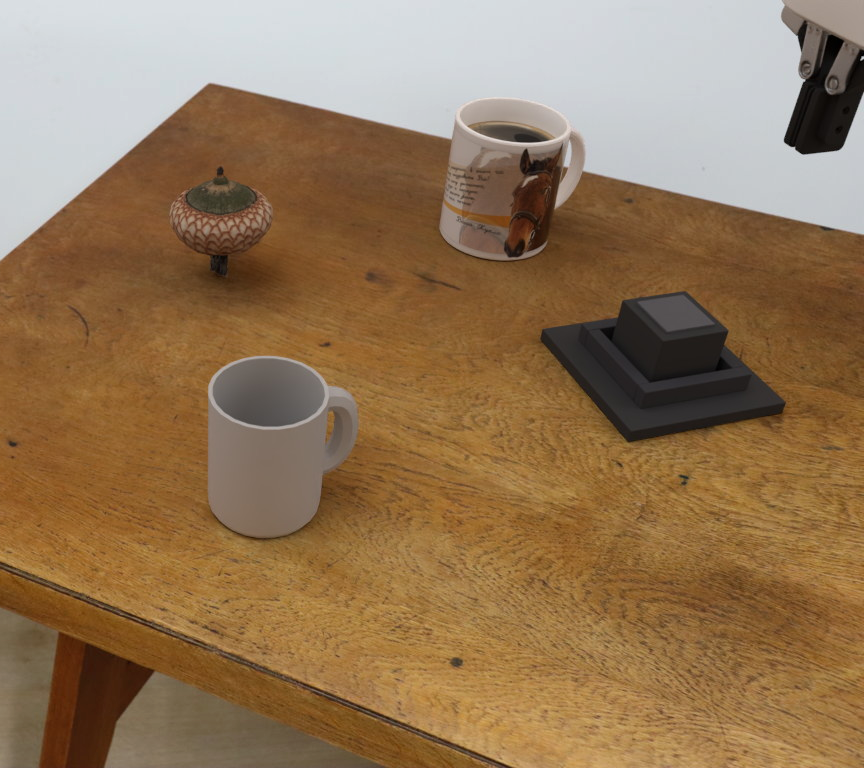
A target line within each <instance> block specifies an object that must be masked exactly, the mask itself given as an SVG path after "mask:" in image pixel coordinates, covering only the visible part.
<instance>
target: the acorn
mask: <svg viewBox="0 0 864 768" xmlns="http://www.w3.org/2000/svg"><path fill="white" fill-rule="evenodd" d="M224 172H225V170H224V168H223V166H222V165H219V167H218V168H217V169H216V176H215V177H214V178H213V179H212V180H207V181H205V182H202V183H200V184H199V185H197V186H194V187H190V188H187V189H186V190H184V191H182V193H180V194H179V195H178V196H177V197H176V198H175V199H174V201H173V202H172V204H171V206H170V210H169V215H168V217H169V223H170V227H171V229H172V230H173V231H174V234H175V235H176V237H177V239H179V241H180V242H182V243H183V244H184V245H185V246H186V247H187V248H188V249H190V250H192V251H194V252H196V253H197V254H199V255H206V256H209V257H210V261H209V262H210V263H209V272H213V273H214V274H215V275H217V276H219V277H221V276H222V277H224V278H228V277H229V276H230V275H229V274H228V271H229V268H228V265H229V255H238V254H240V253H245V252H247V251H248V250H250V249H252V248H253V247H254V246H255V245H257V244H259V243H260V242H261V240H262V239H263V237H265V236H266V234H267V233H268V231H270V229H271V227H272V223H273V220H274V209H273V206H272V204H271V203H270V202H269V201H268V199H267V197H266V196H265V195H264V194H263V193H262V192H260V191H259V190H257V189H256V188H254V187H252V186H250V185H246V184H242V183H240V182H237V181H234V180H229V179H228V177H227V176H226V175H225V173H224Z"/></svg>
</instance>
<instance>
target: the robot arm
mask: <svg viewBox="0 0 864 768" xmlns="http://www.w3.org/2000/svg"><path fill="white" fill-rule="evenodd" d="M781 1H782V3H783V5H784V6H783V8H782V10H781V14H780V19H781V21H782V23H783V24H784V25H785V26H786V27H787V28H788V29H789V30H790V31H791V32H792V33H793V34H794V35H795V36H796V37H797V41H798V45H799V50H800V53H801V54H800V57H799V58H800V59H799V63H798V66H797V67H798V70H797V72H798V76H799V78H800V79H802V80H804V81H803V82H802V84H801V87H800V90H799V93H798V96H797V99H796V101H795V105H794V107H793V110H792V114H791V117H790V119H789V123H788V124H787V125H788V126H787V128H786V131H785V134H784V137H783V143H784V144H785V145H786V146H788V147H790V148H794V150H795V151H796V152H798V153H799V154H800V155H804V156H805V155H814V154H821V153H822V154H823V153H832V152H839V151H840V150H841V149H843V147H844V146H845V143H846V141H847V138H848V136H849V133H850V131H851V127H852V125H853V122H854V119H855V117H856V114H857V111H858V109H859V106H860V104H861V102H862V98H863V95H864V58H863V57H864V0H781ZM862 58H863V59H862Z"/></svg>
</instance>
